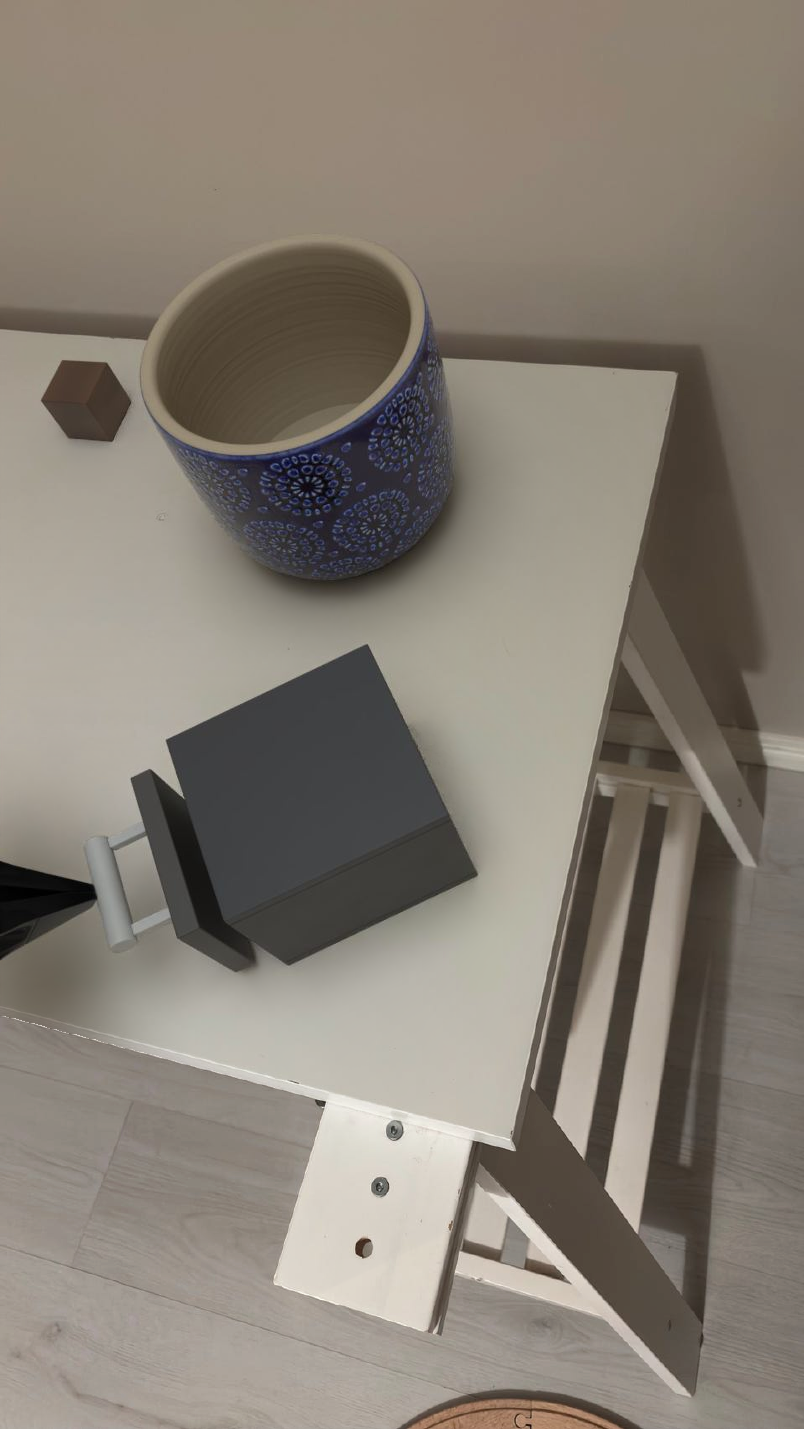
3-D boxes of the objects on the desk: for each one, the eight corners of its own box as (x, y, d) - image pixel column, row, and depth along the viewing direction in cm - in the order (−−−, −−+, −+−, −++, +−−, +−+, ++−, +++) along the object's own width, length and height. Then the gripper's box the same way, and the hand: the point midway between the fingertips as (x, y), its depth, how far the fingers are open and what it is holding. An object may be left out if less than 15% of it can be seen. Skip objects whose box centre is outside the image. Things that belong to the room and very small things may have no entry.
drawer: (170, 1004, 53) (101, 974, 46) (128, 857, 57) (60, 810, 51) (410, 889, 53) (377, 843, 46) (350, 751, 57) (312, 690, 51)
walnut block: (67, 438, 75) (39, 400, 72) (88, 398, 77) (61, 359, 73) (112, 441, 74) (86, 403, 71) (132, 401, 76) (107, 361, 72)
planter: (484, 407, 68) (447, 217, 55) (454, 613, 61) (403, 453, 48) (260, 415, 72) (176, 241, 59) (208, 609, 65) (100, 460, 52)
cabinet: (287, 966, 53) (223, 922, 45) (231, 805, 58) (164, 739, 50) (478, 875, 53) (448, 814, 45) (405, 722, 58) (367, 643, 50)
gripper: (-257, 1089, 31) (201, 998, 40) (-284, 639, 40) (96, 651, 49) (-274, 1198, 38) (120, 1098, 47) (-293, 795, 47) (41, 779, 56)
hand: (93, 895), depth 50 cm, fingers closed, pressing on drawer
